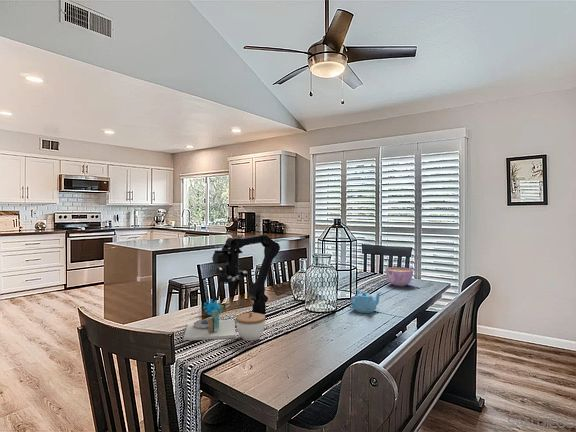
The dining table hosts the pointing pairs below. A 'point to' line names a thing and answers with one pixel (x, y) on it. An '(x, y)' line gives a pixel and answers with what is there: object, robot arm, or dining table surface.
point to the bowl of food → (399, 275)
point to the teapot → (364, 302)
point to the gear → (212, 306)
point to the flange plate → (204, 323)
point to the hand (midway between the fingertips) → (233, 293)
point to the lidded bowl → (250, 325)
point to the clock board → (204, 332)
